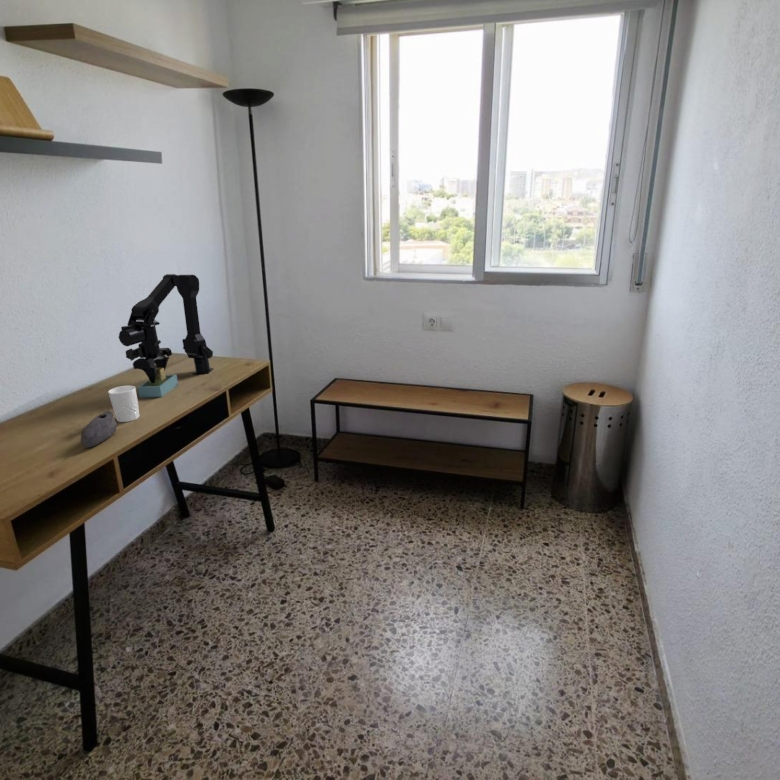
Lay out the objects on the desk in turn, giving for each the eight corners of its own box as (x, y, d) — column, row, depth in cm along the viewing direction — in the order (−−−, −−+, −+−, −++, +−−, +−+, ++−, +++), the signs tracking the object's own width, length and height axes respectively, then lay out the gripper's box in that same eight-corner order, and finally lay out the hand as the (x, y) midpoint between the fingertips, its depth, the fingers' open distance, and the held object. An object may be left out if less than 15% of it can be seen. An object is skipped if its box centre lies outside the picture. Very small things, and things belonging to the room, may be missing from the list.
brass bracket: (156, 386, 199) (152, 366, 197) (169, 386, 199) (165, 366, 196) (149, 392, 194) (144, 371, 191) (162, 391, 193) (158, 371, 191)
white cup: (131, 423, 167) (124, 393, 163) (109, 422, 168) (102, 393, 165) (146, 414, 174) (140, 385, 171) (125, 413, 175) (119, 385, 172)
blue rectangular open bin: (157, 385, 203) (155, 375, 202) (178, 384, 203) (176, 374, 202) (139, 397, 190) (137, 387, 189) (161, 397, 190) (159, 386, 188)
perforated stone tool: (92, 452, 147) (87, 429, 145) (75, 452, 148) (69, 429, 146) (124, 430, 161) (119, 409, 159) (108, 430, 162) (103, 409, 160)
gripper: (139, 334, 199) (148, 373, 204) (113, 346, 182) (123, 389, 187) (168, 333, 199) (176, 372, 204) (145, 345, 181) (154, 388, 186)
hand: (157, 380), depth 195 cm, fingers open, 6 cm apart
